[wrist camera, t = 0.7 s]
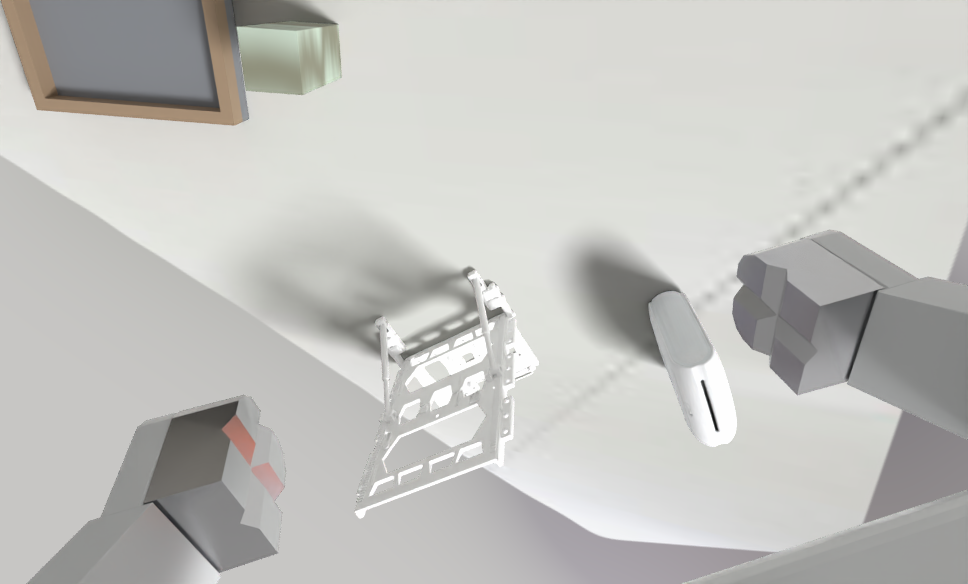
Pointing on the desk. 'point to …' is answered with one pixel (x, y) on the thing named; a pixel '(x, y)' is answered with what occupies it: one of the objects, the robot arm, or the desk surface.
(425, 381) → the white perforated frame
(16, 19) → the keyhole dock
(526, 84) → the desk surface
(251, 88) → the green peg
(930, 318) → the robot arm
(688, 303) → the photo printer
